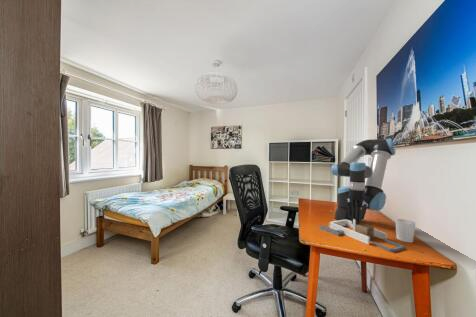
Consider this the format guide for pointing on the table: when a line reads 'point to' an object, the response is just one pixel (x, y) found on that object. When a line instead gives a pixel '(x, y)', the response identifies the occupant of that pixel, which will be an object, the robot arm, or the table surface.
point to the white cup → (405, 230)
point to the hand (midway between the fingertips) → (355, 230)
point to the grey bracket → (398, 248)
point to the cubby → (365, 239)
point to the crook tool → (331, 230)
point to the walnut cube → (365, 230)
